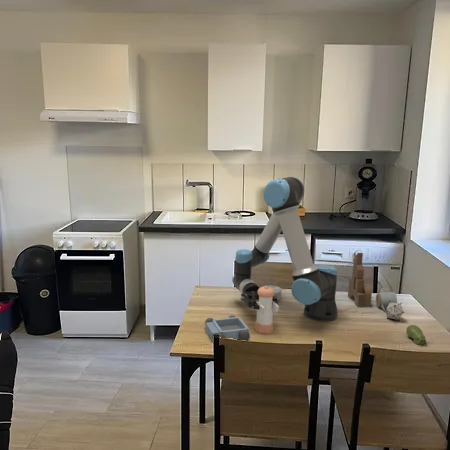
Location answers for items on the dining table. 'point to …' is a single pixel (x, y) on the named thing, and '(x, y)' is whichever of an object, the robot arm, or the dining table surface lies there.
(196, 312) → the dining table surface
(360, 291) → the wooden toy
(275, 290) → the ramekin
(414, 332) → the green toy animal
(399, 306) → the game die
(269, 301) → the pepper shaker
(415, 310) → the dining table surface
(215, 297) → the dining table surface
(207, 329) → the chassis
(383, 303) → the grey cylindrical jar
